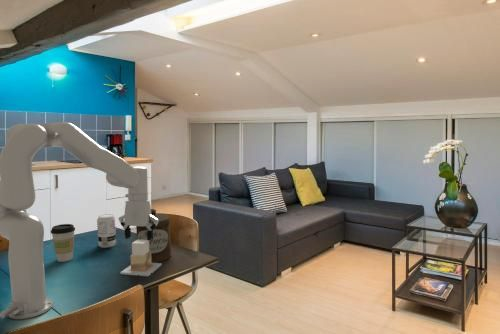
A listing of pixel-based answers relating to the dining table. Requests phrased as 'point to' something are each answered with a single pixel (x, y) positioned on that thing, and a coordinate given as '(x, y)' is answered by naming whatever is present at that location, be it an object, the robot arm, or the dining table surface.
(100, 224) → the supplement can
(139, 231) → the wooden container
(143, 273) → the white orange square board
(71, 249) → the coffee cup
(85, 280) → the dining table surface
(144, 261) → the oak block
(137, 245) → the cream block
